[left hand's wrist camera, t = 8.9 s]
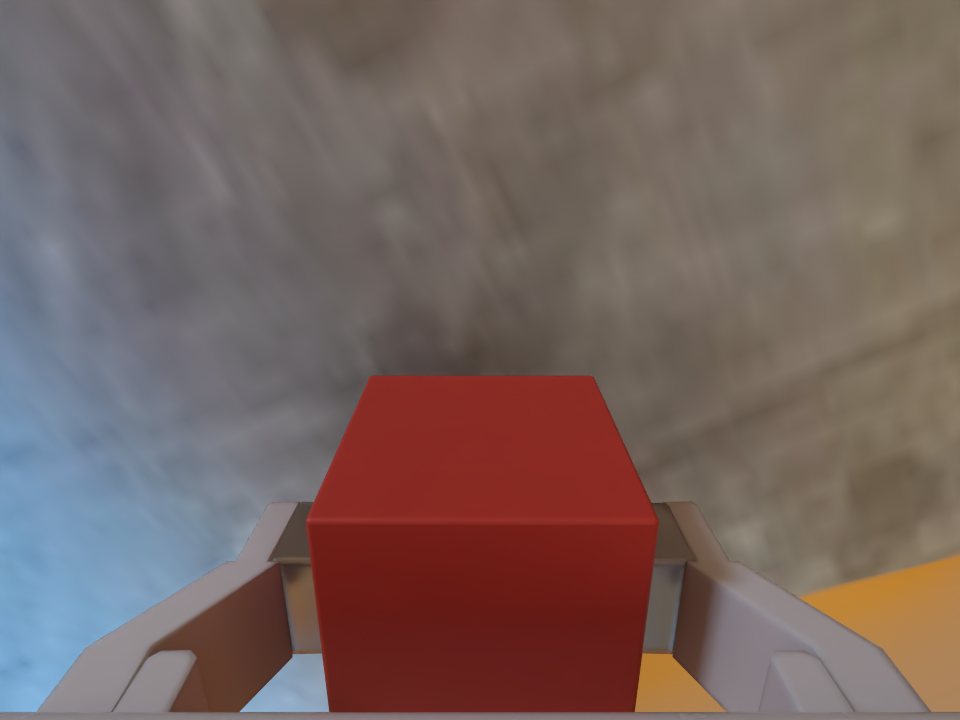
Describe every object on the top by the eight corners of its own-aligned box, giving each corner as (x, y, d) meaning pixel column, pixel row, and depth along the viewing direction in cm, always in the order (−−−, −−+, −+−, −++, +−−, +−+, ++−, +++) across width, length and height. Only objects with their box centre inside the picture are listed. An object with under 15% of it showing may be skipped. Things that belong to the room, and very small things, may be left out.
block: (579, 567, 13) (628, 779, 9) (383, 567, 13) (335, 779, 9) (594, 373, 12) (661, 519, 7) (369, 373, 12) (303, 519, 7)
